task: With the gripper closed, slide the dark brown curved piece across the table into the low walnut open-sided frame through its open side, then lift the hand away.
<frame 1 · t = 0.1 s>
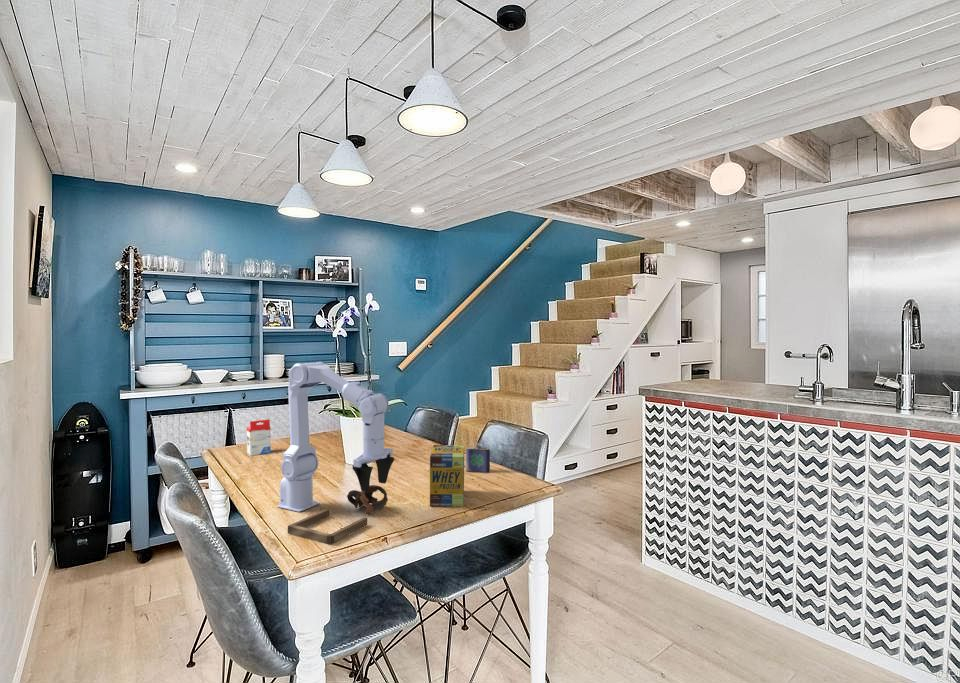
hand: (373, 486, 138), 10 cm above the table, tool pointing down, fingers open, 7 cm apart
walnut open-sided frame: (328, 529, 133), on the table
dark brown curved piece: (367, 510, 148), on the table
navy clover print box: (477, 472, 188), on the table
ink box: (258, 453, 214), on the table
protein box: (447, 499, 158), on the table
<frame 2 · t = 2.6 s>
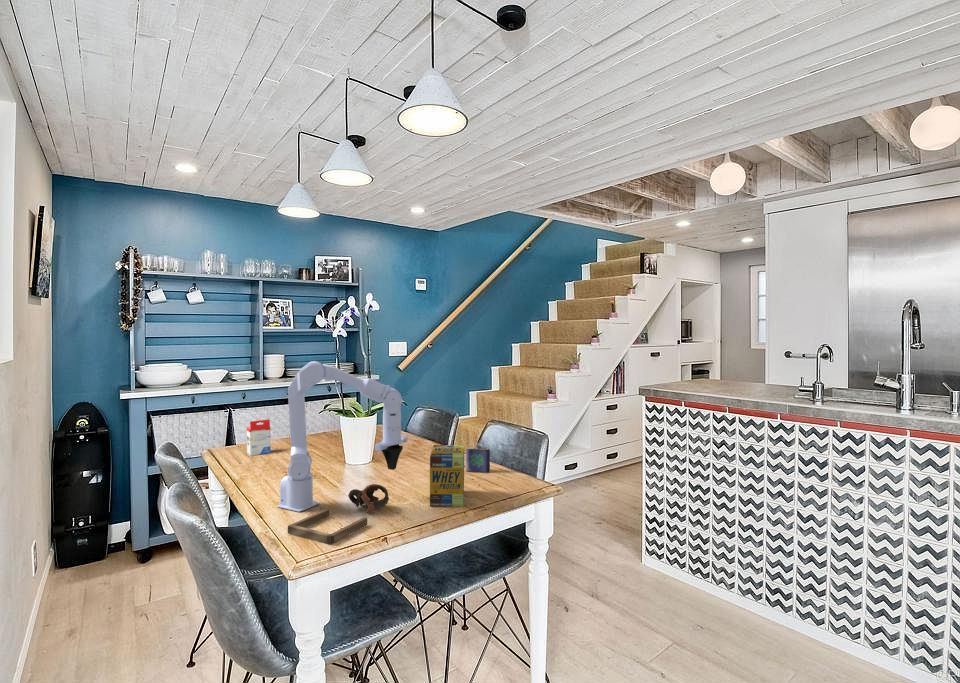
hand: (391, 468, 158), 9 cm above the table, tool pointing down, fingers closed
nothing on the table moved.
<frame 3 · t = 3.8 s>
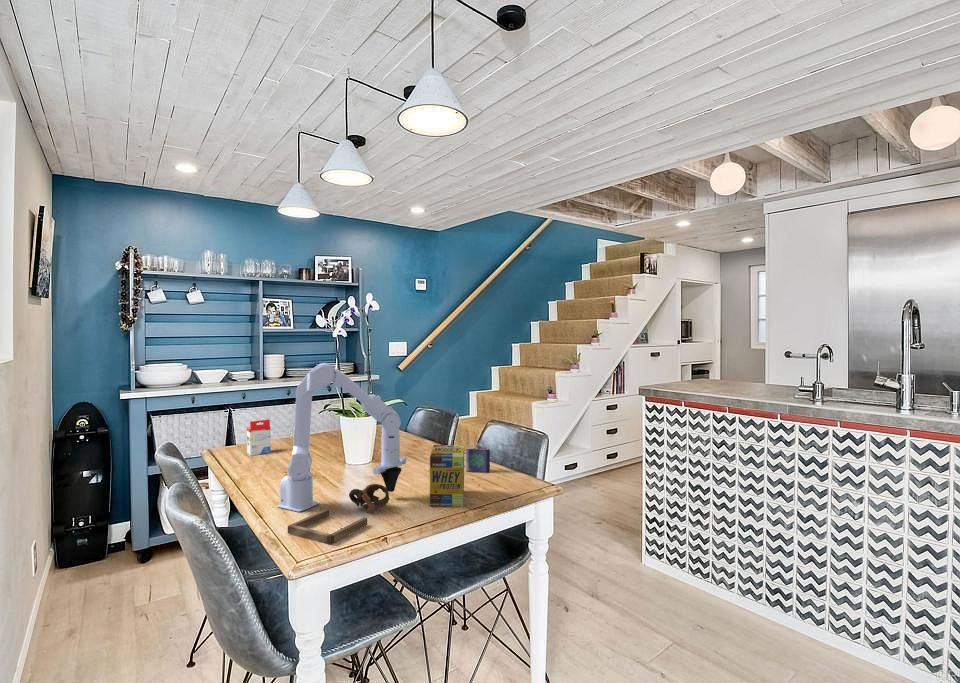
hand: (390, 491, 158), 2 cm above the table, tool pointing down, fingers closed
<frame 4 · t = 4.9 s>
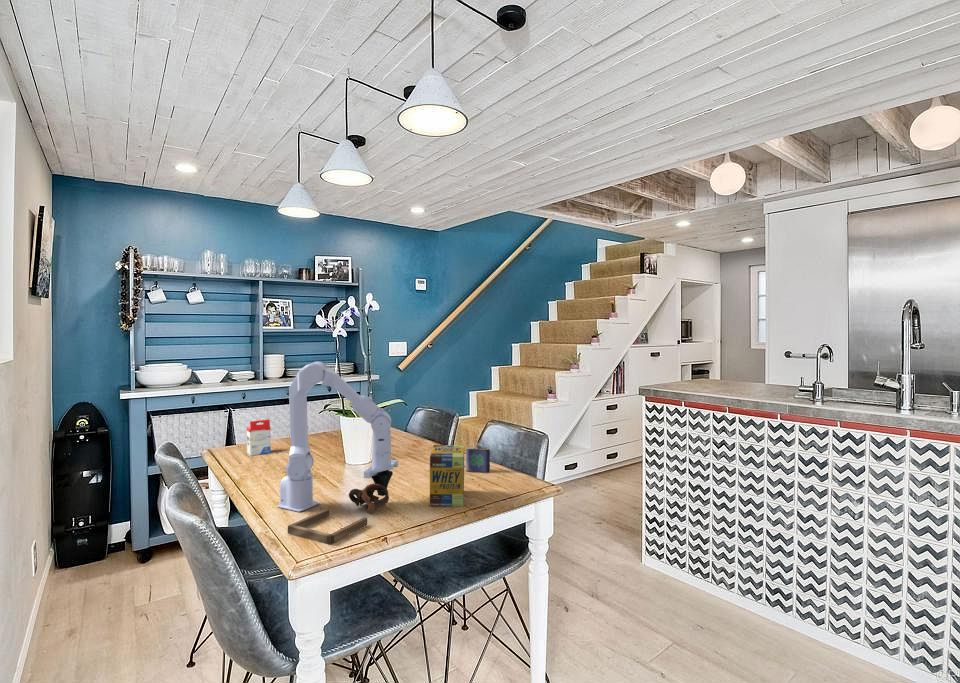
hand: (381, 495, 154), 2 cm above the table, tool pointing down, fingers closed
dark brown curved piece: (368, 509, 149), on the table, touching gripper
everything else where it was.
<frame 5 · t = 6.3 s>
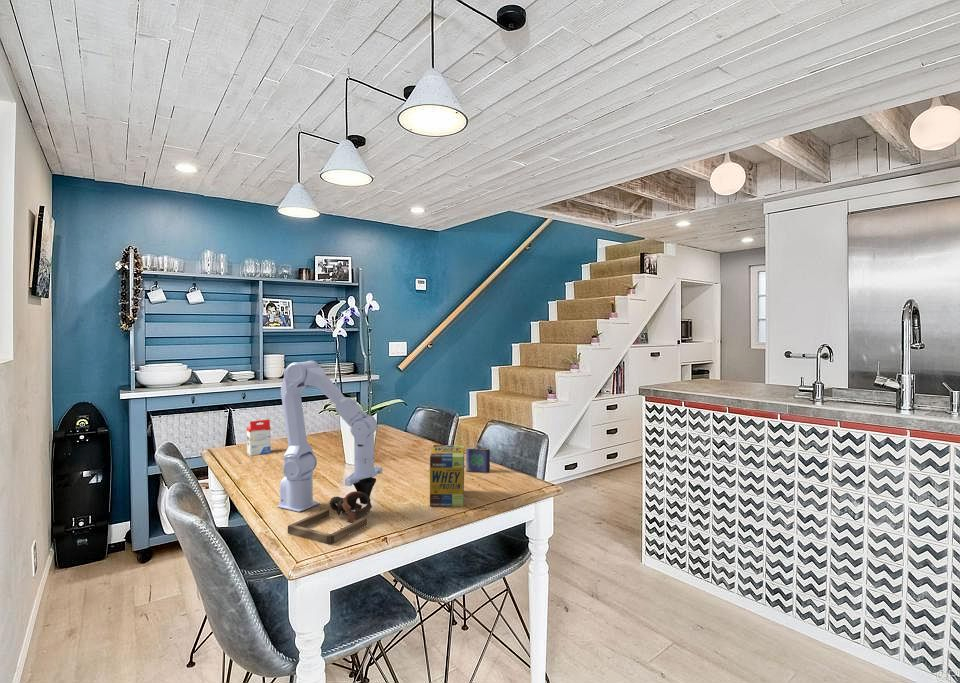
hand: (364, 503, 146), 2 cm above the table, tool pointing down, fingers closed
dark brown curved piece: (350, 518, 142), on the table, touching gripper
everything else where it was.
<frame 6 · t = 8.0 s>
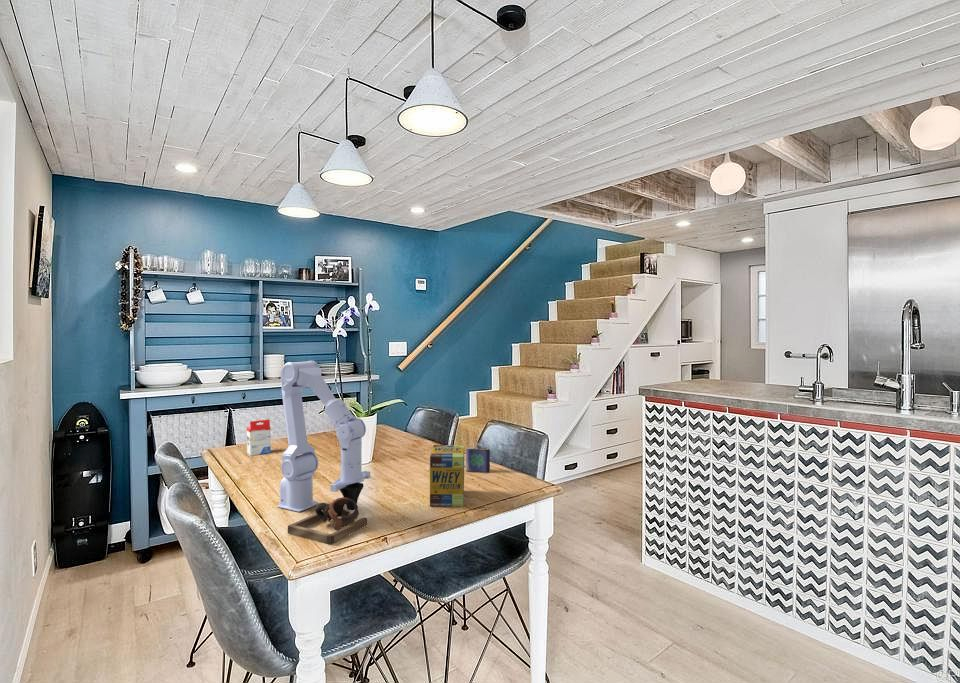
hand: (351, 509, 141), 2 cm above the table, tool pointing down, fingers closed
dark brown curved piece: (337, 525, 136), on the table, touching gripper
everything else where it was.
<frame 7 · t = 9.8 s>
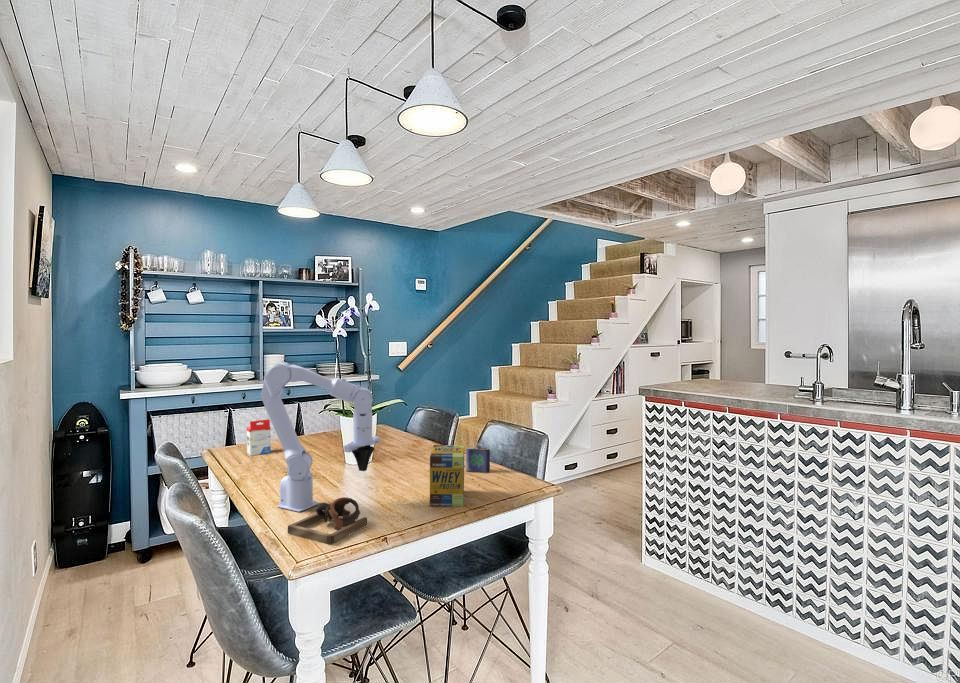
hand: (362, 470, 154), 10 cm above the table, tool pointing down, fingers closed
dark brown curved piece: (338, 525, 137), on the table
everything else where it was.
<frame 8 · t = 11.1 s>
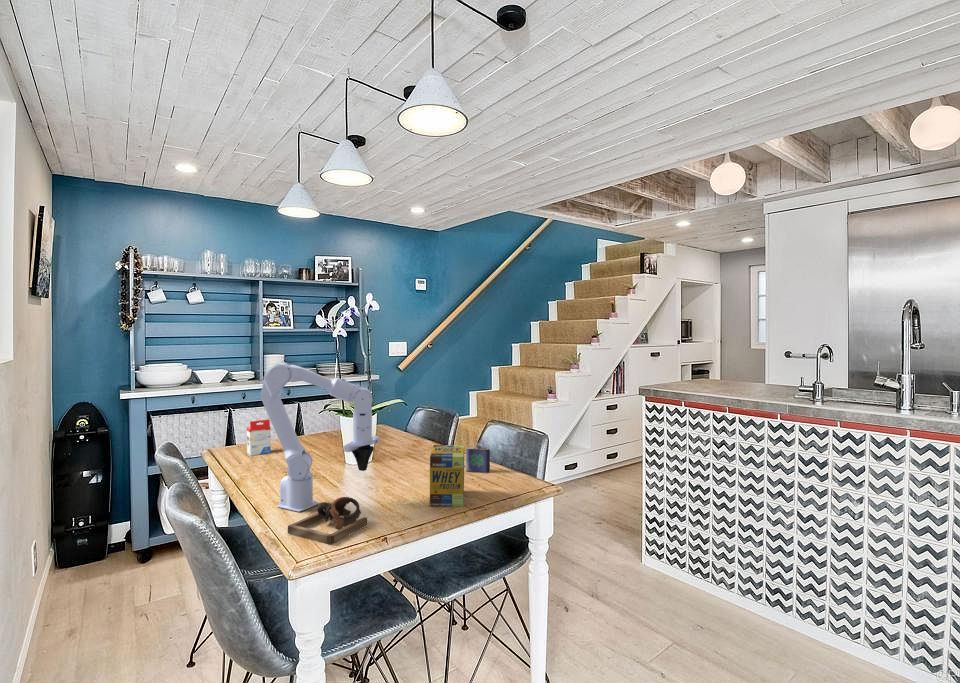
hand: (362, 470, 155), 10 cm above the table, tool pointing down, fingers closed
nothing on the table moved.
at the end: dark brown curved piece inside the target area (5.1 cm from its centre), on the table; dark brown curved piece tilted 0°; dark brown curved piece moved 11.7 cm from its start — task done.
